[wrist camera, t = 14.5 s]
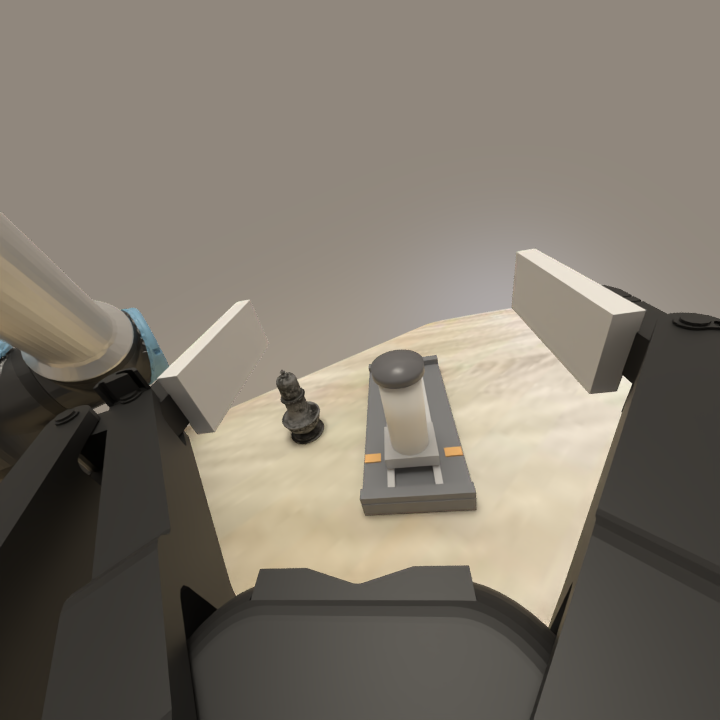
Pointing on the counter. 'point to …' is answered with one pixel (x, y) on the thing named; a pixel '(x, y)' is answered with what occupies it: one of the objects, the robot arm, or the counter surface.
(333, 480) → the counter surface
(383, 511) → the console
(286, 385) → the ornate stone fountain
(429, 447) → the fader
